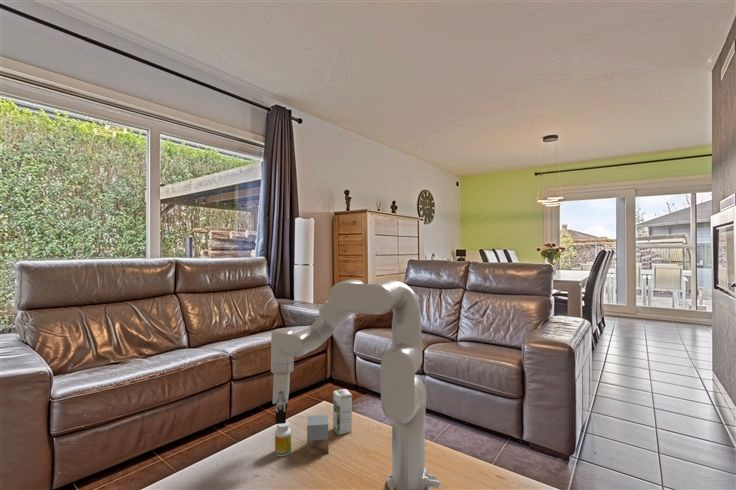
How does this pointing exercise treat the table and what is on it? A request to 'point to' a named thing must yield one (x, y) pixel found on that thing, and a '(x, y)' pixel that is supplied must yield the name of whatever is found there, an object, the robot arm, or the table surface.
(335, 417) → the syrup box
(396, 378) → the robot arm
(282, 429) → the supplement bottle
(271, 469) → the table surface
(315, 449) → the tower bottom block
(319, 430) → the tower top block
